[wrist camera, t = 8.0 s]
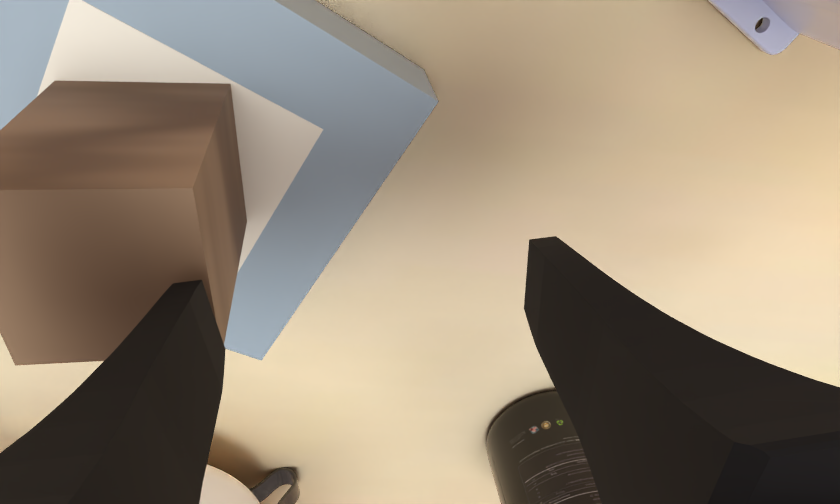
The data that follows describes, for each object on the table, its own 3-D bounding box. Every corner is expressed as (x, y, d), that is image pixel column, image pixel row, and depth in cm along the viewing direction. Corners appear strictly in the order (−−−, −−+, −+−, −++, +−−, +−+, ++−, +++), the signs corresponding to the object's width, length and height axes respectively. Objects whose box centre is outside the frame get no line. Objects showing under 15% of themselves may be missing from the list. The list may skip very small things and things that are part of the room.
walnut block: (230, 83, 16) (192, 188, 11) (247, 221, 19) (222, 354, 14) (54, 80, 15) (-66, 190, 11) (97, 223, 18) (15, 365, 13)
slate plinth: (423, 69, 20) (438, 101, 17) (266, 309, 25) (261, 361, 22) (36, -178, 15) (-21, -182, 12) (-63, 186, 20) (-117, 235, 17)
